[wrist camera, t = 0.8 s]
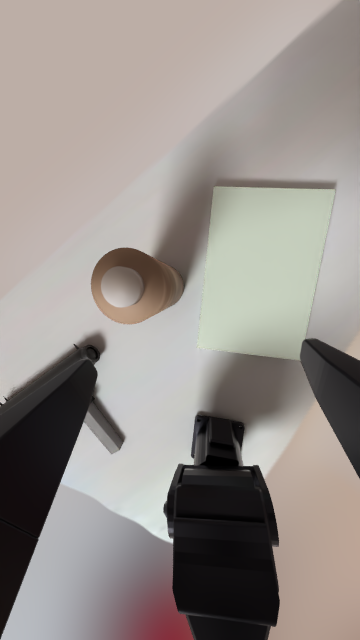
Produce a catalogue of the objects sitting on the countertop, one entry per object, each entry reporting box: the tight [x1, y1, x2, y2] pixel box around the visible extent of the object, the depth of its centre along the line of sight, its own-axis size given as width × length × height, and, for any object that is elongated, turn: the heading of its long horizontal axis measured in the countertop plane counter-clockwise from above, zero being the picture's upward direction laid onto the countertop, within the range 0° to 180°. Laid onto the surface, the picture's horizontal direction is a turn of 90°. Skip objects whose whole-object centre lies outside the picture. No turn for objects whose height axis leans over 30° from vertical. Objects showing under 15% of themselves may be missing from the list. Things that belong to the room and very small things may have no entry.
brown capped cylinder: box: [91, 248, 184, 324], centre depth 19 cm, size 5×5×12 cm
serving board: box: [197, 186, 336, 361], centre depth 23 cm, size 18×12×1 cm, turn 175°
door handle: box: [0, 344, 123, 454], centre depth 29 cm, size 3×20×16 cm
